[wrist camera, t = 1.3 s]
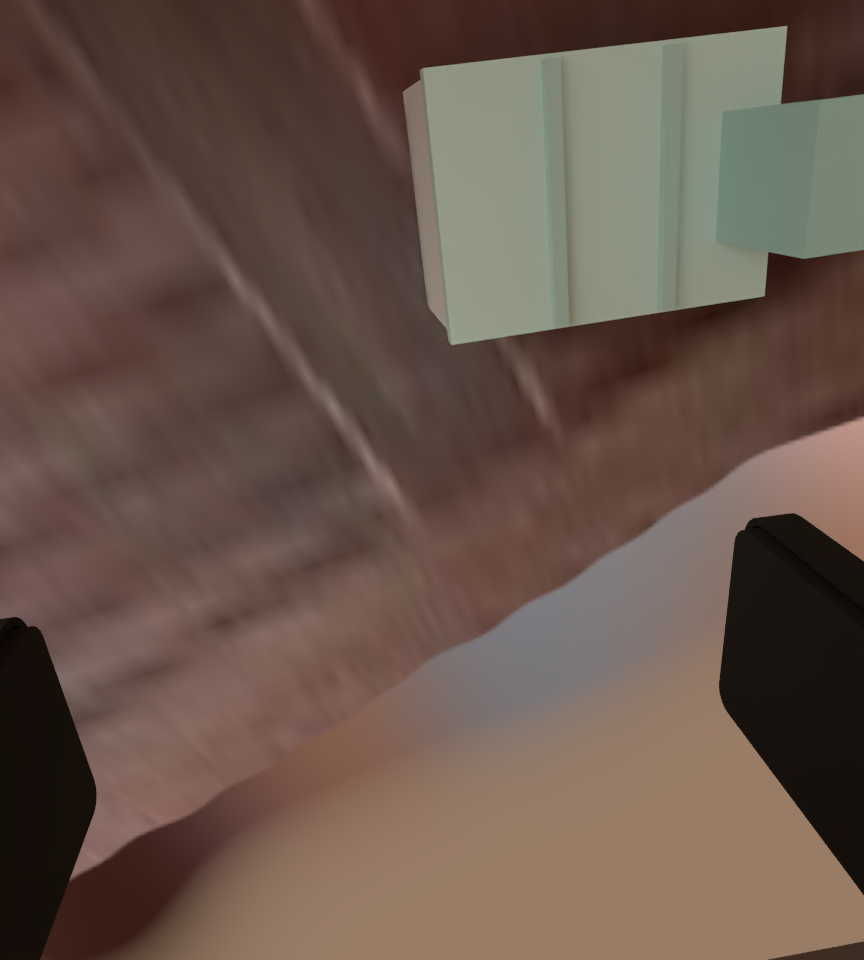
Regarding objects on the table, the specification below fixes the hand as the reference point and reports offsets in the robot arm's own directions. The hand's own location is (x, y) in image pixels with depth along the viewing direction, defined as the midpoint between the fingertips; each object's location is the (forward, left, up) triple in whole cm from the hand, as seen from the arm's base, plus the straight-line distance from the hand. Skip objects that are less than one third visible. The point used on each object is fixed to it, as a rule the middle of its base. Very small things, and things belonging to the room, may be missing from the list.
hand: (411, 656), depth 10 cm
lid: (-4, +12, -24) cm, 27 cm away
